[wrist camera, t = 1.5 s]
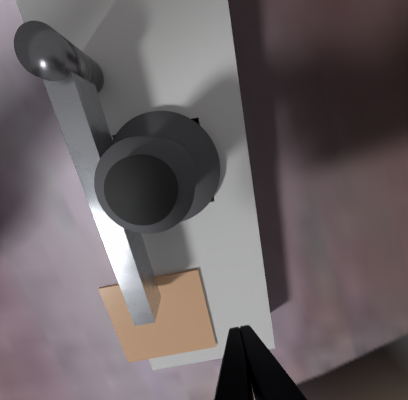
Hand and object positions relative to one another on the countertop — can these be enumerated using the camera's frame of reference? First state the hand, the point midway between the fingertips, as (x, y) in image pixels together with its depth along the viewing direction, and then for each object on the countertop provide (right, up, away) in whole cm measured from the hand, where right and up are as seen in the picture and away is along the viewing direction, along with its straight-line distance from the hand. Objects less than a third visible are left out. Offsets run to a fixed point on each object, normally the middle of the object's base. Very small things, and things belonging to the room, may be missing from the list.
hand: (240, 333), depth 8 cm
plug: (-4, +8, +7) cm, 11 cm away
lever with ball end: (-6, +6, +4) cm, 10 cm away
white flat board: (-3, +6, +7) cm, 10 cm away
